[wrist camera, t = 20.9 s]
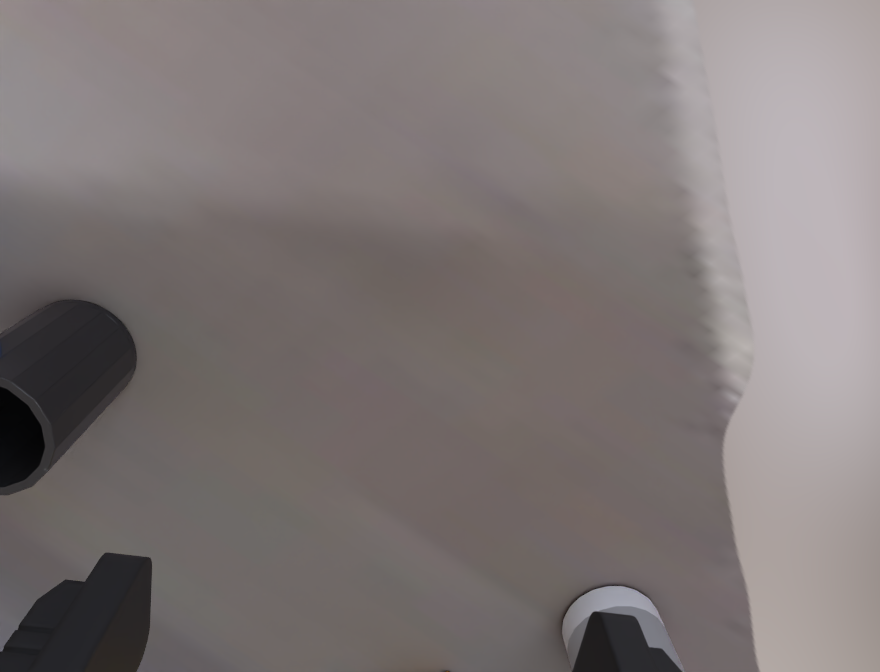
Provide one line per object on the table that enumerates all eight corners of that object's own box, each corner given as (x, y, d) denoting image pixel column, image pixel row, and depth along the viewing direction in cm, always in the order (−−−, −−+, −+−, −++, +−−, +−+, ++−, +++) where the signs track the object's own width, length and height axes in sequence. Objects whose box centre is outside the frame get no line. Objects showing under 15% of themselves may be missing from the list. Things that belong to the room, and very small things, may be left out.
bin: (2, 321, 40) (-125, 399, 30) (101, 284, 39) (3, 351, 30) (61, 414, 42) (-41, 512, 32) (156, 379, 41) (80, 470, 32)
